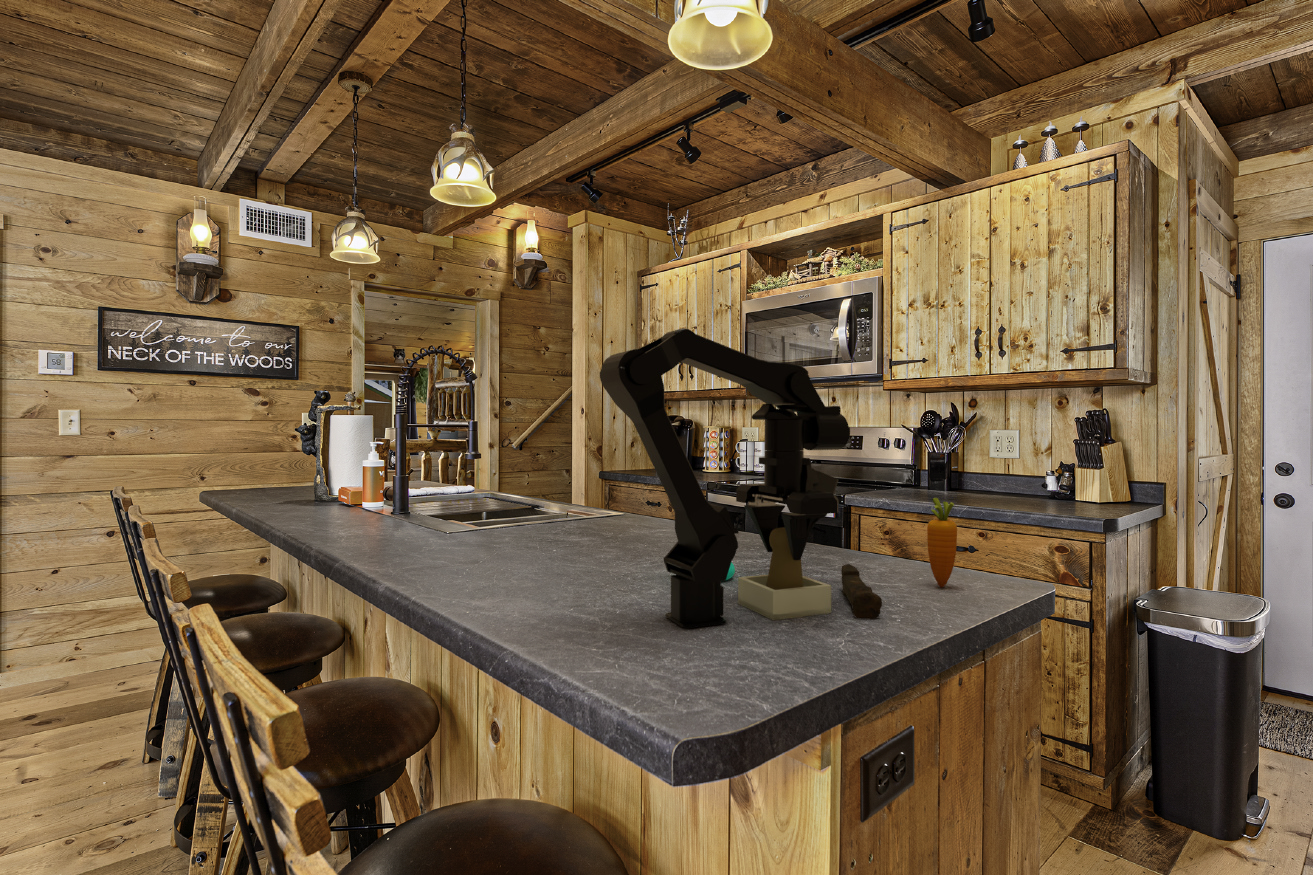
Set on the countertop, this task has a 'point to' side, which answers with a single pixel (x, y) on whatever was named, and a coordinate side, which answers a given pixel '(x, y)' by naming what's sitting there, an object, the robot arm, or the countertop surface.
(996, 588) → the countertop surface
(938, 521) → the carrot
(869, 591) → the dark brown lumpy bar
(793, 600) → the tray
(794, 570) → the cork
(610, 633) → the countertop surface
